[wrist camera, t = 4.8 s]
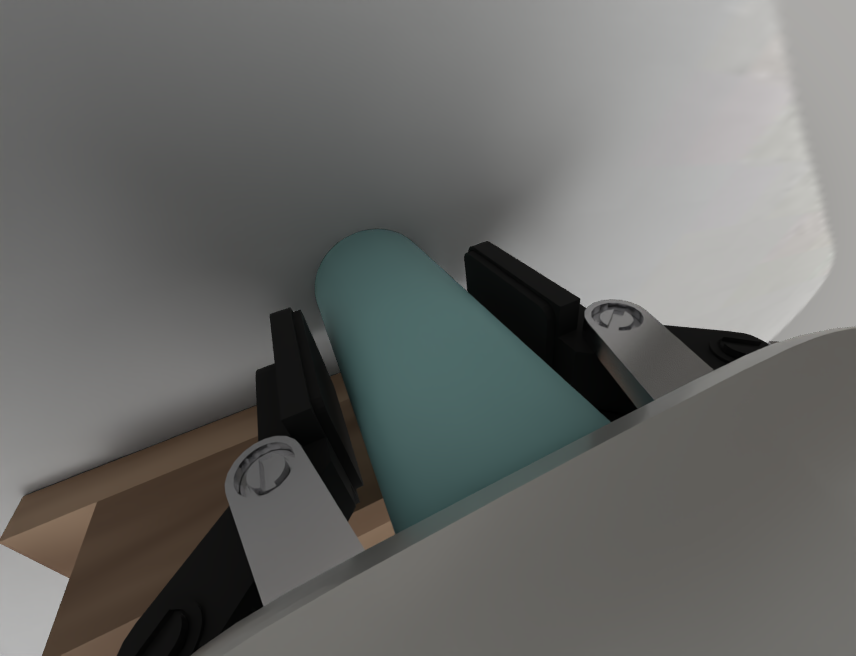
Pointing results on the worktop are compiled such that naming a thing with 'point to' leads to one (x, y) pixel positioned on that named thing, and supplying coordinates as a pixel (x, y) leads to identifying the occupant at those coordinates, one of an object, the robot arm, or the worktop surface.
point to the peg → (436, 378)
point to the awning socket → (149, 525)
